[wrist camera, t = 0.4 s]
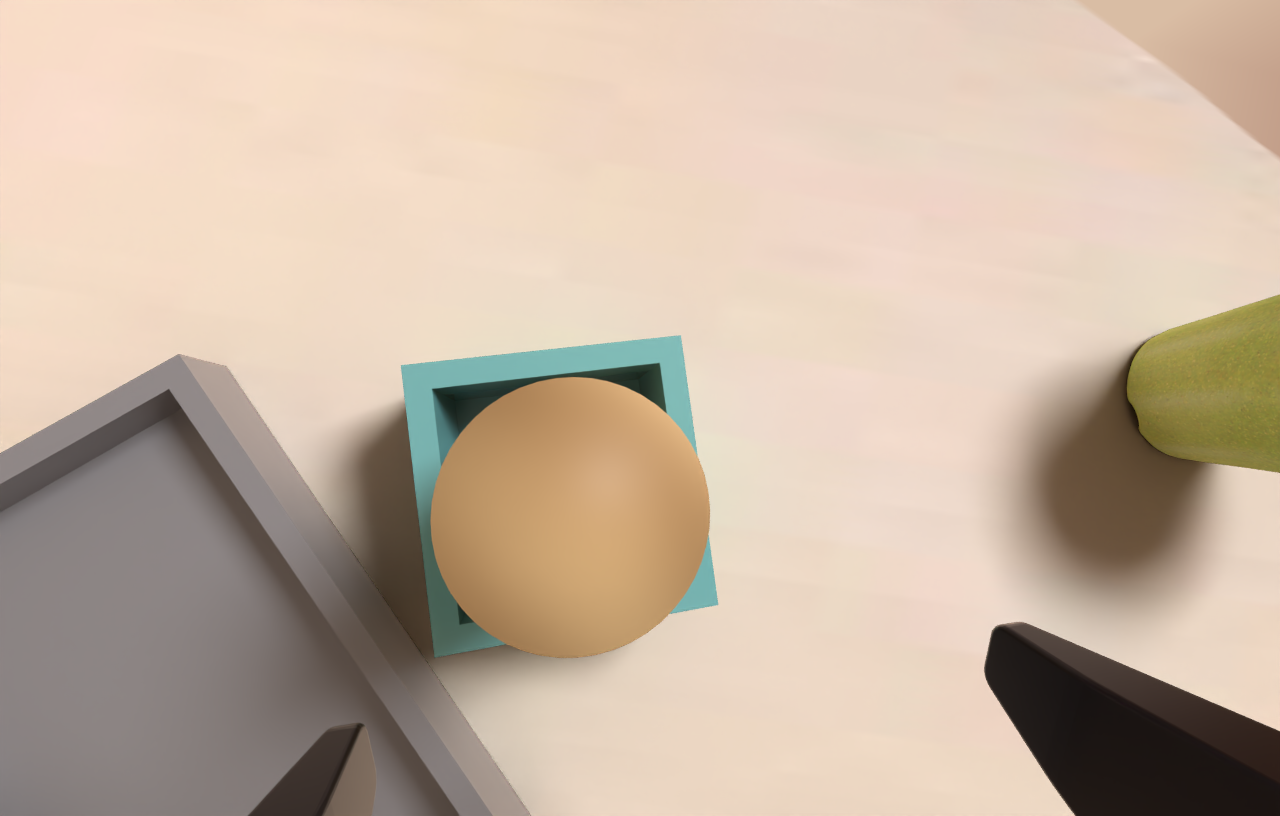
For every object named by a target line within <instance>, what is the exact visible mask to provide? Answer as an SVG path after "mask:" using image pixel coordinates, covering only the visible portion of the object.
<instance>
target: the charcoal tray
mask: <svg viewBox="0 0 1280 816" xmlns="http://www.w3.org/2000/svg"><path fill="white" fill-rule="evenodd" d="M352 723H362V724H364V725H365V727H366V729H367V731H368V736H369V740H370V745H371V749H372V754H373V758H374V763H375V767H376V792H375V799H374V805H373V812H372V816H531V815H530V813H529V812H528V811H527V809H526V808H525V806H524V805H523V803H522V802H521V800H520V799H519V797H518V796H517V794H516V793H515V791H514V790H513V788H512V787H511V785H510V784H509V782H508V781H507V780H506V778H505V777H504V775H503V774H502V772H501V771H500V769H499V768H498V766H497V765H496V763H495V762H494V760H493V759H492V757H491V756H490V754H489V753H488V752H487V750H486V749H485V747H484V746H483V744H482V743H481V741H480V740H479V738H478V737H477V735H476V734H475V732H474V731H473V729H472V728H471V726H470V725H469V724H468V722H467V721H466V719H465V718H464V716H463V715H462V713H461V712H460V710H459V709H458V707H457V706H456V704H455V703H454V701H453V700H452V698H451V697H450V695H449V694H448V693H447V691H446V690H445V688H444V687H443V685H442V684H441V682H440V681H439V679H438V678H437V676H436V675H435V673H434V672H433V670H432V669H431V667H430V666H429V665H428V663H427V662H426V660H425V659H424V657H423V656H422V654H421V653H420V651H419V650H418V648H417V647H416V645H415V644H414V642H413V641H412V639H411V638H410V637H409V635H408V634H407V632H406V631H405V629H404V628H403V626H402V625H401V623H400V622H399V620H398V619H397V617H396V616H395V614H394V613H393V611H392V610H391V608H390V607H389V606H388V604H387V603H386V601H385V600H384V598H383V597H382V595H381V594H380V592H379V591H378V589H377V588H376V586H375V585H374V583H373V582H372V580H371V579H370V578H369V576H368V575H367V573H366V572H365V570H364V569H363V567H362V566H361V564H360V563H359V561H358V560H357V558H356V557H355V555H354V554H353V552H352V551H351V550H350V548H349V547H348V545H347V544H346V542H345V541H344V539H343V538H342V536H341V535H340V533H339V532H338V530H337V529H336V527H335V526H334V524H333V523H332V521H331V520H330V519H329V517H328V516H327V514H326V513H325V511H324V510H323V508H322V507H321V505H320V504H319V502H318V501H317V499H316V498H315V496H314V495H313V493H312V492H311V491H310V489H309V488H308V486H307V485H306V483H305V482H304V480H303V479H302V477H301V476H300V474H299V473H298V471H297V470H296V468H295V467H294V465H293V464H292V462H291V461H290V460H289V458H288V457H287V455H286V454H285V452H284V451H283V449H282V448H281V446H280V445H279V443H278V442H277V440H276V439H275V437H274V436H273V434H272V433H271V432H270V430H269V429H268V427H267V426H266V424H265V423H264V421H263V420H262V418H261V417H260V415H259V414H258V412H257V411H256V409H255V408H254V406H253V405H252V404H251V402H250V401H249V399H248V398H247V396H246V395H245V393H244V392H243V390H242V389H241V387H240V386H239V384H238V383H237V381H236V380H235V378H234V377H233V375H232V374H231V373H230V371H229V370H228V368H227V367H226V366H223V365H219V364H215V363H211V362H207V361H203V360H200V359H196V358H192V357H188V356H184V355H180V354H178V355H176V356H174V357H173V358H171V359H169V360H167V361H165V362H164V363H162V364H160V365H158V366H156V367H155V368H153V369H151V370H149V371H147V372H146V373H144V374H142V375H140V376H138V377H137V378H135V379H133V380H131V381H129V382H128V383H126V384H124V385H122V386H120V387H119V388H117V389H115V390H113V391H111V392H110V393H108V394H106V395H104V396H102V397H101V398H99V399H97V400H95V401H93V402H92V403H90V404H88V405H86V406H84V407H83V408H81V409H79V410H77V411H75V412H74V413H72V414H70V415H68V416H66V417H65V418H63V419H61V420H59V421H57V422H56V423H54V424H52V425H50V426H48V427H47V428H45V429H43V430H41V431H39V432H38V433H36V434H34V435H32V436H30V437H29V438H27V439H25V440H23V441H21V442H20V443H18V444H16V445H14V446H12V447H11V448H9V449H7V450H5V451H3V452H2V453H0V816H248V815H249V813H250V812H251V811H252V810H253V809H254V808H255V807H256V806H257V805H258V804H259V803H260V801H261V800H262V799H263V798H264V797H265V796H266V795H267V794H268V793H269V792H270V791H271V789H272V788H273V787H274V786H275V785H276V784H277V783H278V782H279V781H280V780H281V779H282V777H283V776H284V775H285V774H286V773H287V772H288V771H289V770H290V769H291V768H292V767H293V766H294V764H295V763H296V762H297V761H298V760H299V759H300V758H301V757H302V756H303V755H304V754H305V752H306V751H307V750H308V749H309V748H310V747H311V746H312V745H313V744H314V743H315V742H316V740H317V739H318V738H319V737H320V736H321V735H322V734H323V733H324V732H325V731H326V730H328V729H329V728H331V727H334V726H339V725H346V724H352Z"/></svg>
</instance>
